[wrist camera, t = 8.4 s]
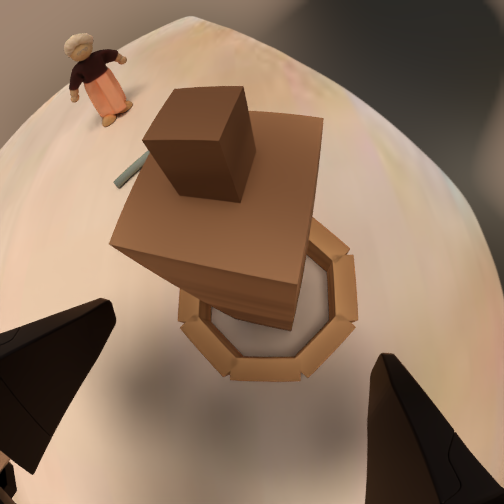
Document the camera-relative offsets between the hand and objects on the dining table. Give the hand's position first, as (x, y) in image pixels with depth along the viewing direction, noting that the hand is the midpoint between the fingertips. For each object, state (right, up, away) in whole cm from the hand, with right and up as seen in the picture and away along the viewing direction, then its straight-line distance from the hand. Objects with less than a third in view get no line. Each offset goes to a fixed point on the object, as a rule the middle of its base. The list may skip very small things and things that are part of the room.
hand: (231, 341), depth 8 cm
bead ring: (+2, 0, +9) cm, 9 cm away
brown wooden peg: (+2, 0, +9) cm, 9 cm away
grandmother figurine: (-15, +20, +19) cm, 32 cm away
